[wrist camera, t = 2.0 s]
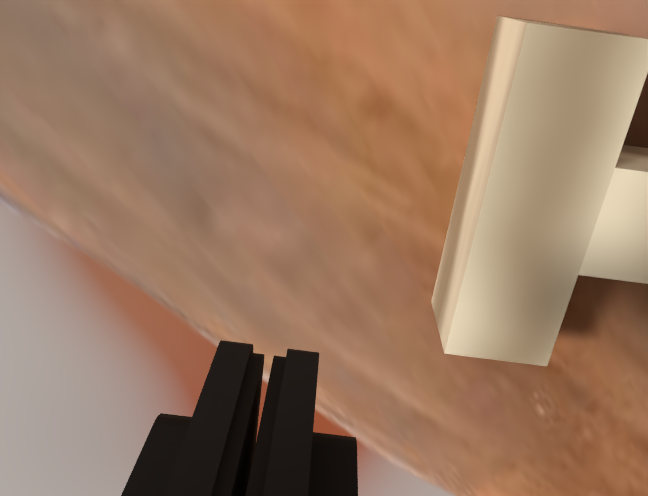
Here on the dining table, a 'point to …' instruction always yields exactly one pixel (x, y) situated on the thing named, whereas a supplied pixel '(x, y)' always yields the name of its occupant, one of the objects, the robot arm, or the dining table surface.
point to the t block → (543, 188)
